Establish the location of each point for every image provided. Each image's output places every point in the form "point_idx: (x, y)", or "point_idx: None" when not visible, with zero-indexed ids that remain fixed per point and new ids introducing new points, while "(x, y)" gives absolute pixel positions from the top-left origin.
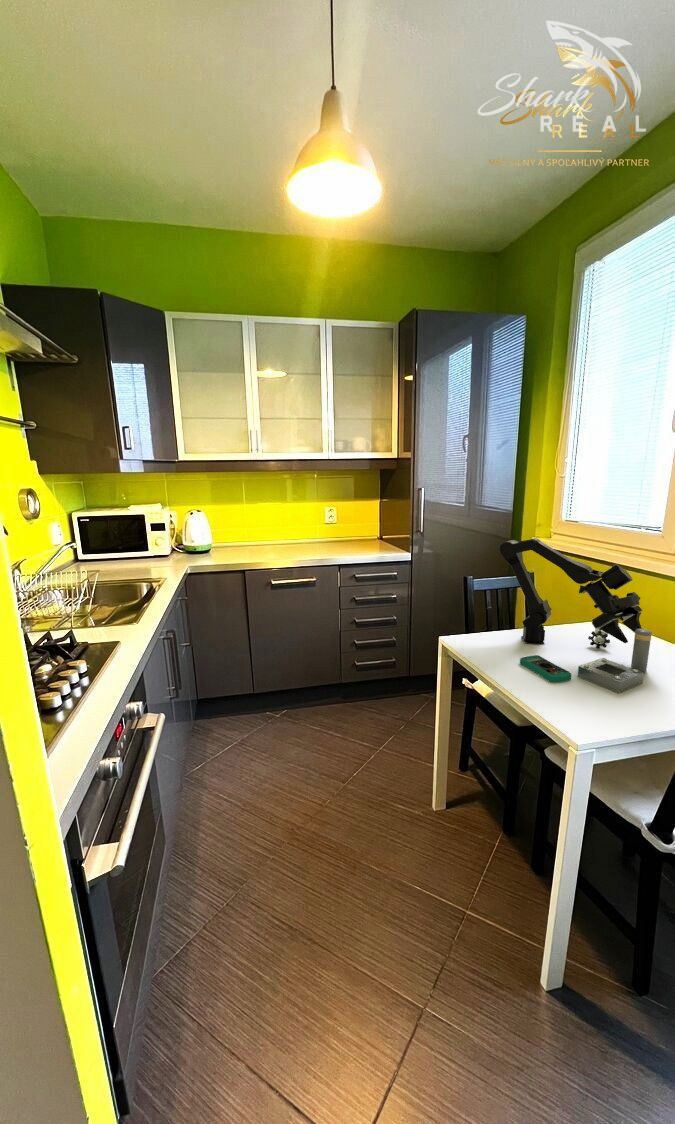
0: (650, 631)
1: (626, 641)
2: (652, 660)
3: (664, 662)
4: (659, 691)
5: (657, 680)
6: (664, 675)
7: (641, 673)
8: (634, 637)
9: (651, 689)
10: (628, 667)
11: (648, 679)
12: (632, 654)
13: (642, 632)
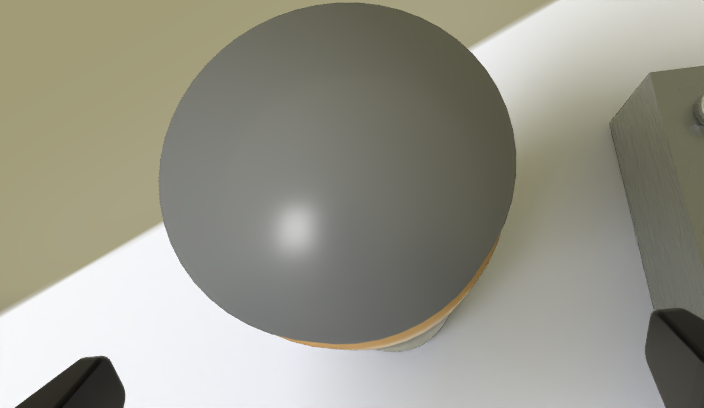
0: (218, 68)
1: (691, 323)
2: None
3: (36, 302)
4: (601, 11)
5: None
6: None
7: (691, 69)
8: (441, 320)
9: (628, 46)
10: (695, 201)
11: None
12: (429, 335)
13: (475, 92)
